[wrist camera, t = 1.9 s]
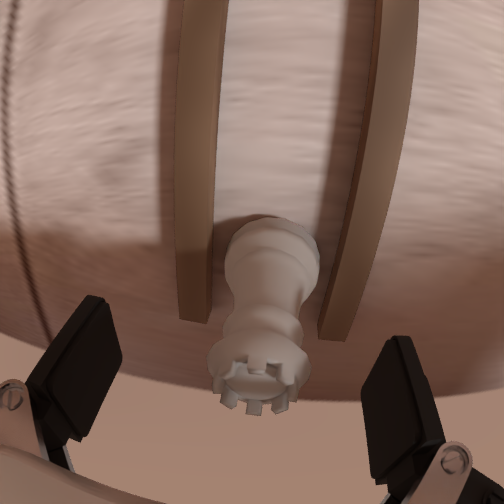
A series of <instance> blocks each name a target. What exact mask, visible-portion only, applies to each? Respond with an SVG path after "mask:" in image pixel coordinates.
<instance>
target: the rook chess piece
mask: <svg viewBox="0 0 504 504" xmlns="http://www.w3.org/2000/svg"><path fill="white" fill-rule="evenodd" d="M319 260H320V255H319V252H318V248H317V245H316V242H315V240H314V239H313V238H312V237H311V236H310V234H309V233H308V232H307V231H306V230H305V229H304V228H303V227H302V226H300V225H297V224H295V223H293V222H291V221H289V220H287V219H282V218H270V217H265V218H261V219H258V220H255V221H251V222H248V223H246V224H245V225H244V226H243V227H242V228H240V229H239V230H238V231H237V232H235V233H234V234H233V236H232V239H231V241H230V243H229V245H228V247H227V254H226V257H225V279H226V281H227V283H228V285H229V287H230V290H231V292H232V294H233V296H234V306H233V312H232V314H230V315H229V316H228V317H227V319H226V321H225V323H224V324H223V339H221V340H220V341H218V342H216V343H215V344H213V345H212V347H211V349H210V351H209V352H208V354H207V356H206V359H207V368H208V371H209V372H210V374H211V375H212V377H213V381H212V391H213V393H214V394H222V395H221V400H220V403H222V404H223V405H225V406H226V407H228V408H230V409H233V408H234V407H236V405H237V400H240V401H243V402H246V403H247V409H246V414H248V415H257V416H261V412H262V405H263V404H271V403H272V408H271V410H272V411H273V412H274V413H275V414H278V413H281V412H283V411H286V410H288V404H289V401H291V402H297V398H298V394H299V389H300V388H301V387H302V386H303V385H304V384H305V383H306V382H307V381H308V380H309V376H310V372H311V368H312V366H311V364H310V361H309V359H308V356H307V354H306V353H305V352H304V351H303V350H302V349H300V347H301V346H302V343H303V338H304V332H303V329H302V326H301V324H300V322H299V321H298V317H299V312H300V307H301V305H302V304H303V302H304V301H305V300H306V299H307V298H308V296H309V295H310V294H311V292H312V291H313V289H314V288H315V286H316V284H317V280H318V274H319V268H320V266H319Z"/></svg>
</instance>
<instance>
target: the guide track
mask: <svg viewBox="0 0 504 504" xmlns="http://www.w3.org/2000/svg"><path fill="white" fill-rule="evenodd" d="M228 3H229V0H184V7H183V16H182V25H181V36H180V47H179V59H178V73H177V89H176V110H175V141H174V218H175V250H176V271H177V288H178V303H179V317H180V319H182V320H187V321H193V322H198V323H204V324H207V321H208V318H209V315H210V312H211V294H212V245H213V214H214V189H215V168H216V149H217V133H218V117H219V103H220V89H221V77H222V65H223V53H224V42H225V32H226V22H227V12H228ZM418 12H419V0H376V5H375V20H374V33H373V44H372V54H371V63H370V72H369V80H368V88H367V96H366V103H365V110H364V117H363V123H362V130H361V136H360V142H359V148H358V153H357V159H356V164H355V170H354V175H353V180H352V185H351V190H350V195H349V200H348V205H347V209H346V214H345V218H344V223H343V227H342V232H341V236H340V240H339V245H338V249H337V253H336V257H335V261H334V265H333V269H332V273H331V277H330V280H329V284H328V288H327V292H326V295H325V299H324V303H323V306H322V310H321V313H320V317H319V320H318V324H317V327H318V339H321V340H331V341H342V342H345V340H346V338H347V335H348V333H349V330H350V327H351V325H352V322H353V319H354V317H355V314H356V311H357V308H358V305H359V303H360V300H361V297H362V294H363V291H364V288H365V285H366V282H367V279H368V276H369V273H370V270H371V267H372V263H373V260H374V257H375V254H376V250H377V247H378V243H379V240H380V237H381V233H382V229H383V226H384V222H385V218H386V215H387V211H388V207H389V203H390V199H391V195H392V191H393V187H394V182H395V178H396V174H397V169H398V164H399V160H400V155H401V150H402V145H403V140H404V134H405V129H406V123H407V117H408V111H409V104H410V97H411V90H412V83H413V75H414V66H415V56H416V45H417V31H418Z"/></svg>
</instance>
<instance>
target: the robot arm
mask: <svg viewBox="0 0 504 504" xmlns="http://www.w3.org/2000/svg"><path fill="white" fill-rule="evenodd" d="M121 363H122V352H121V349H120V345H119V342H118V338H117V334H116V331H115V327H114V323H113V319H112V315H111V311H110V307H109V304H108V303H106V302H105V299H104V298H101V297H97V296H92V295H87V296H86V297H85V298H84V300H83V301H82V302H81V304H80V305H79V306H78V308H77V309H76V310H75V312H74V313H73V314H72V315H71V317H70V318H69V320H68V321H67V322H66V324H65V325H64V326H63V328H62V329H61V330H60V332H59V333H58V335H57V336H56V337H55V339H54V340H53V342H52V343H51V344H50V346H49V347H48V349H47V350H46V352H45V353H44V355H43V356H42V357H41V359H40V360H39V362H38V363H37V365H36V366H35V368H34V369H33V371H32V372H31V374H30V375H29V377H28V379H27V381H26V382H25V384H24V383H23V382H21V381H20V380H16V379H10V380H7V381H4V382H3V383H1V384H0V504H165V503H162V502H158V501H154V500H150V499H147V498H143V497H140V496H137V495H133V494H130V493H127V492H124V491H121V490H118V489H115V488H112V487H109V486H107V485H104V484H101V483H99V482H96V481H93V480H91V479H88V478H86V477H83V476H81V475H78V474H76V473H75V470H74V468H73V465H72V462H71V459H70V456H69V453H68V450H67V447H66V443H67V441H68V439H69V438H71V439H73V440H75V441H78V442H81V440H82V438H83V437H86V436H87V435H88V434H89V431H90V429H91V427H92V425H93V422H94V420H95V418H96V416H97V414H98V412H99V409H100V407H101V405H102V403H103V401H104V399H105V397H106V394H107V392H108V390H109V388H110V386H111V384H112V382H113V380H114V378H115V376H116V374H117V372H118V370H119V368H120V366H121ZM361 402H362V408H363V415H364V422H365V430H366V437H367V446H368V455H369V464H370V473H371V477H372V478H373V479H375V483H376V485H382V484H387V486H388V494H387V495H386V496H385V498H384V499H383V501H382V502H381V503H380V504H504V489H503V487H501V486H500V485H499V484H497V483H495V482H494V481H493V480H491V479H490V478H488V477H486V476H485V475H483V474H482V473H480V472H479V471H477V470H476V469H474V468H473V467H472V464H473V460H472V455H471V452H470V451H469V449H468V448H467V447H466V446H465V445H464V444H463V443H460V442H457V441H450V442H446V440H445V436H444V432H443V429H442V425H441V421H440V418H439V414H438V411H437V408H436V404H435V401H434V398H433V395H432V392H431V389H430V386H429V383H428V380H427V378H426V376H425V375H424V373H423V370H422V367H421V364H420V361H419V358H418V356H417V353H416V350H415V347H414V345H413V342H412V339H411V338H410V337H409V336H393V337H392V338H391V339H390V340H387V341H386V342H385V345H384V347H383V349H382V351H381V353H380V355H379V357H378V358H377V360H376V362H375V364H374V366H373V368H372V370H371V372H370V374H369V376H368V377H367V379H366V381H365V383H364V385H363V386H362V389H361Z"/></svg>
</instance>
